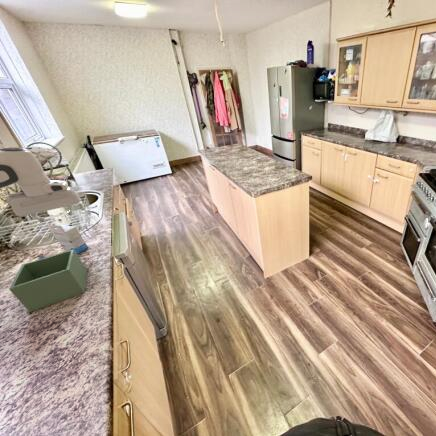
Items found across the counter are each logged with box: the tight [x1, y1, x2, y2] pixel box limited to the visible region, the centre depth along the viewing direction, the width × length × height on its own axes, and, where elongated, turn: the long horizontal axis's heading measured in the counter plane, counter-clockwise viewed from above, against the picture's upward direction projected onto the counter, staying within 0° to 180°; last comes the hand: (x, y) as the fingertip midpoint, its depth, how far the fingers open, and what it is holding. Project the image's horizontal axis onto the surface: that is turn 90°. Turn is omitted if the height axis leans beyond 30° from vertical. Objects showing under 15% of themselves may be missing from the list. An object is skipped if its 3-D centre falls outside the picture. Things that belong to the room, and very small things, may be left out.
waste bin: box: [9, 249, 88, 313], centre depth 84 cm, size 15×15×11 cm
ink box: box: [47, 224, 88, 255], centre depth 105 cm, size 9×5×15 cm, turn 76°
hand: (57, 218), depth 100 cm, fingers open, 8 cm apart
